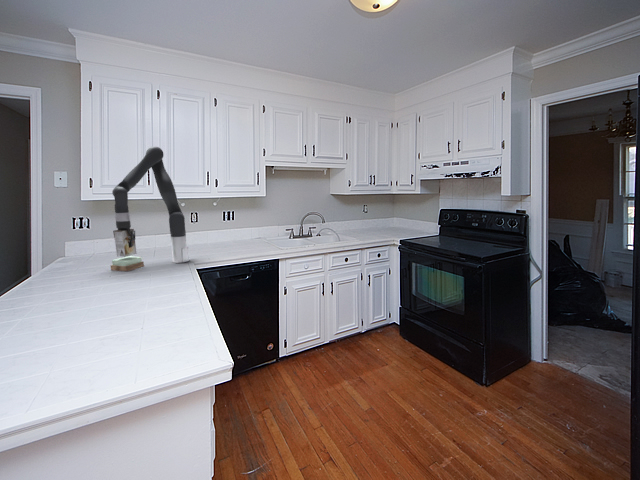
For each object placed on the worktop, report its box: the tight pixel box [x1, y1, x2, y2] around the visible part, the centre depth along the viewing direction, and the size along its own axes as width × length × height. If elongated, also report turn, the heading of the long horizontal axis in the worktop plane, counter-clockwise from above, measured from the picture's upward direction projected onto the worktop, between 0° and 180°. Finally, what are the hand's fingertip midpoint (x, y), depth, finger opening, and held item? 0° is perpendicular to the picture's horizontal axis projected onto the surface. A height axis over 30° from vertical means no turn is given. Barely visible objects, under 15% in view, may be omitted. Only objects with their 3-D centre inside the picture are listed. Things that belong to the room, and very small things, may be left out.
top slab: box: [111, 255, 143, 266], centre depth 199 cm, size 10×12×3 cm
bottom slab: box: [110, 261, 145, 272], centre depth 199 cm, size 12×13×4 cm
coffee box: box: [113, 228, 138, 258], centre depth 197 cm, size 9×6×16 cm
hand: (125, 247), depth 197 cm, fingers closed on coffee box, 6 cm apart
